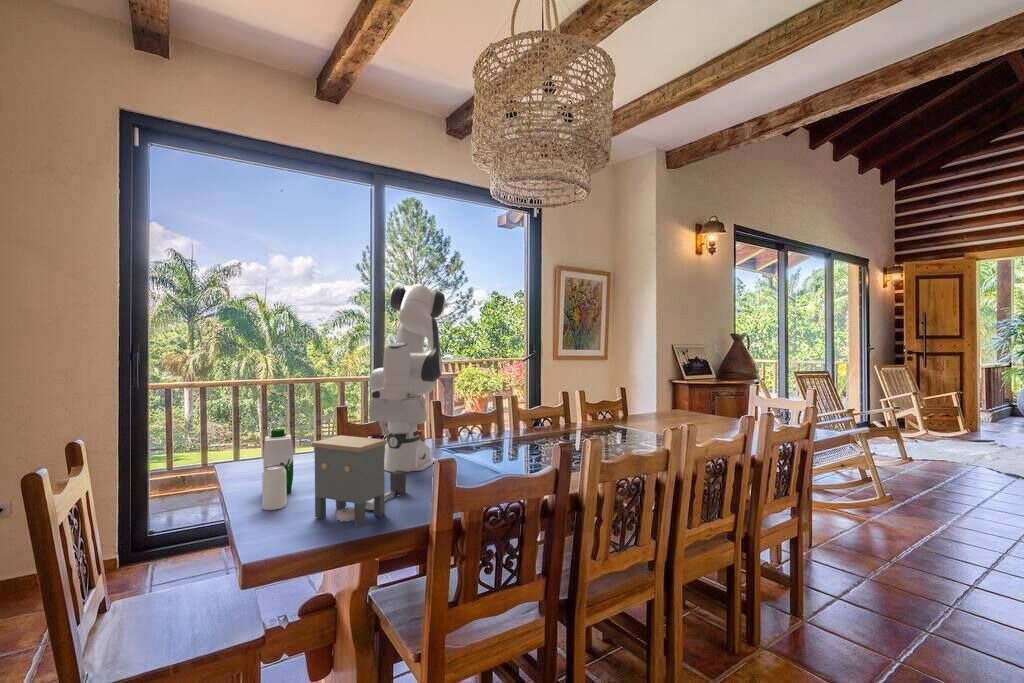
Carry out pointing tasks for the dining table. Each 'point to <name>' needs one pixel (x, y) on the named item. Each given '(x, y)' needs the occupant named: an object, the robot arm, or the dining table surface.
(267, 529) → the dining table surface
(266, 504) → the can
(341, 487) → the cabinet
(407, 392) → the robot arm
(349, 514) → the coaster
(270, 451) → the milk carton
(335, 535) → the dining table surface
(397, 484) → the block
